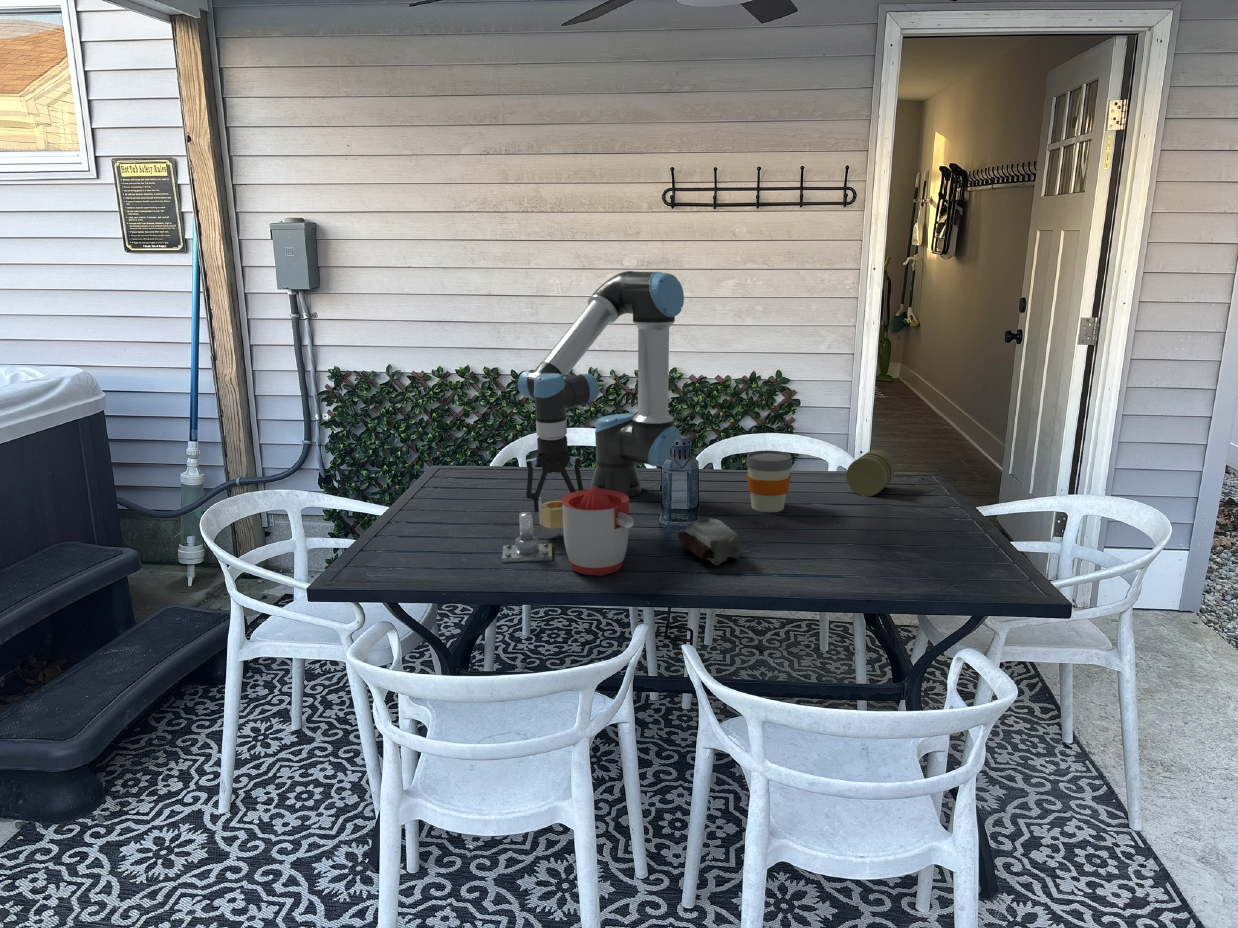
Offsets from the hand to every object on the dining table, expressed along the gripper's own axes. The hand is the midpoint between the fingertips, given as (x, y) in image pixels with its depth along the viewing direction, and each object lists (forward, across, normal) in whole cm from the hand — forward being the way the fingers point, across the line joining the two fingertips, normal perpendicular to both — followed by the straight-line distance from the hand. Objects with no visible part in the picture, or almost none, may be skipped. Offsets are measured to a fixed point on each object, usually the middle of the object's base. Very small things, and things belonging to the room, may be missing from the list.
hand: (556, 522), depth 239 cm
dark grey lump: (+5, -36, +19) cm, 41 cm away
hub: (0, 0, 0) cm, 0 cm away
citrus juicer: (+4, -9, +24) cm, 26 cm away
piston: (+7, -93, -29) cm, 98 cm away
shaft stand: (+3, +8, +13) cm, 15 cm away
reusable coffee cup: (+6, -59, -17) cm, 62 cm away
